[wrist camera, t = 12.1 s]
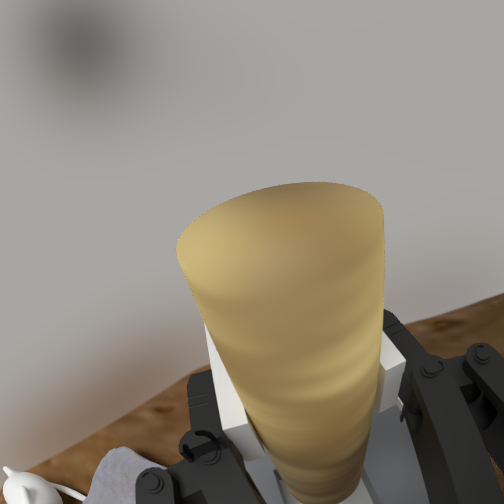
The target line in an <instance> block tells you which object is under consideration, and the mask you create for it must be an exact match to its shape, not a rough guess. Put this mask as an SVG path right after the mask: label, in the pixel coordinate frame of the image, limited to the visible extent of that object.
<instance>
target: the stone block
mask: <svg viewBox="0 0 504 504" xmlns="http://www.w3.org/2000/svg"><path fill="white" fill-rule="evenodd" d="M151 467H160V468H162V469H164V470H165V469H167V467H165V466H162V465H159V464H156V463H154V462H152V461H148V460H147V459H146V458H144V457H142V456H140V455H138V454H137V453H136V452H134V451H133V450H131V449H129V448H127V447H120V448H117V449H116V448H114V449H112V450H110V451H109V452H108V453H107V455H106V456H105V457H104V458H103V459H102V460H101V462H100V464H99V466H98V468H97V470H96V472H95V475H94V477H93V480H92V484H91V488H90V491H89V494H88V496H87V498H86V499H85V500H84V501H83V504H136V500H135V484H136V479H137V477H138V476H139V474H140V473H141V472H142V471H144V470H145V469H147V468H151Z"/></svg>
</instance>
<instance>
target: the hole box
mask: <svg viewBox="0 0 504 504" xmlns="http://www.w3.org/2000/svg"><path fill="white" fill-rule="evenodd" d="M402 408H403V403H402V401H401V400H400V398H399V397H398V400H397V404H396V405H394V406H392V407H390V408H388V409H386V410H384V411H382V412H380V413H379V412H378V411H377V409H376V407H375V406H374V411H373V418H372V424H371V430H370V435H369V441H368V446H367V451H366V456H365V461H364V465H363V470H362V474H361V478H360V482H359V484H358V486H357V488H356V490H355V491H354V492H353V493H352V494H351V495H350V496H349V497H348V498H347V499H346V500H344V501H342V502H341V503H338V504H430V503H429V499H428V495H427V491H426V487H425V483H424V480H423V476H422V473H421V469H420V466H419V462H418V459H417V455H416V452H415V449H414V446H413V442H412V439H411V436H410V433H409V430H408V427H407V424H406V421H405V418H404V419H403V422H400V415H401V411H402ZM262 444H263V443H262ZM263 447H264V445H263ZM264 450H265V454H266V457H263V458H259V459H255V460H252V461H248V462H245V460H244V459H243V460H244V464H245V468H246V470H247V471H248V473H249V474H250V476H251V478H252V480H253V481H254V483H255V485H256V486H257V488H258V490H259V492H260V493H261V495H262V497H263V498H264V500H265V502H266V503H267V504H302V503H301V502H299V501H298V500H296V499H295V498H294V497H293V496H292V495H291V493H290V491H289V490H288V488H287V486H286V485H285V483H284V481H283V479H282V478H281V476H280V474H279V472H278V470H277V469H276V467H275V465H274V463H273V461H272V460H271V458H270V456H269V454H268V452H267V450H266V449H265V447H264Z"/></svg>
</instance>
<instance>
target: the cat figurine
mask: <svg viewBox="0 0 504 504" xmlns="http://www.w3.org/2000/svg"><path fill="white" fill-rule="evenodd" d="M3 470H4V471H5V473H6V474H7V475H8V476H9V478H8V479H7V480H6V481H5V483H4V486H3V494H4V498H5V500H6V502H7V504H63V501H62V499H61V497H60V495H59V493H58V492H57V490H59V491H61V492H64V493H66V494H68V495H70V496H72V497H74V498H76V499H78V500H81V501H84V500H85V499H86V498H87V497H86V496H84V495H82V494H80V493H79V492H77V491H75V490H72V489H70V488H68V487H65V486H62V485H59V484H54V483H50V482H48V481H46V480H45V479H43V478H42V477H40V476H38V475H35V474H32V473H27V472H20V473H19V472H17V471H15V470H13V469H11V468H9V467H6V466H5V467H3ZM56 489H57V490H56Z"/></svg>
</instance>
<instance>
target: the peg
mask: <svg viewBox="0 0 504 504" xmlns="http://www.w3.org/2000/svg"><path fill="white" fill-rule="evenodd" d="M176 253H177V257H178V260H179V262H180V265H181V267H182V270H183V272H184V275H185V277H186V280H187V282H188V285H189V287H190V290H191V292H192V294H193V297H194V299H195V302H196V304H197V306H198V309H199V311H200V313H201V316H202V318H203V320H204V323H205V325H206V327H207V330H208V332H209V334H210V336H211V339H212V341H213V343H214V345H215V347H216V350H217V352H218V354H219V356H220V358H221V360H222V363H223V365H224V367H225V369H226V371H227V373H228V375H229V378H230V380H231V382H232V384H233V386H234V388H235V390H236V392H237V394H238V396H239V398H240V400H241V402H242V404H243V406H244V408H245V410H246V412H247V414H248V416H249V418H250V420H251V422H252V424H253V426H254V427H255V429H256V431H257V433H258V435H259V437H260V439H261V441H262V443H263V445H264V447H265V449H266V450H267V452H268V454H269V456H270V458H271V460H272V461H273V463H274V465H275V467H276V469H277V470H278V472H279V474H280V476H281V478H282V479H283V481H284V483H285V485H286V486H287V488H288V490H289V491H290V493H291V495H292V496H293V497H294V498H295V499H296V500H298V501H299V502H301V503H302V504H338V503H341V502H342V501H344V500H346V499H347V498H348V497H349V496H350V495H351V494H352V493H353V492H354V491H355V490H356V488H357V486H358V484H359V482H360V478H361V474H362V470H363V465H364V461H365V456H366V451H367V446H368V441H369V435H370V430H371V424H372V418H373V411H374V405H375V398H376V390H377V382H378V374H379V364H380V354H381V342H382V328H383V310H384V275H385V274H384V273H385V271H384V270H385V267H384V266H385V251H384V217H383V209H382V206H381V204H380V203H379V202H378V201H377V199H376V198H375V197H373V196H372V195H371V194H369V193H367V192H365V191H363V190H361V189H358V188H355V187H352V186H348V185H344V184H337V183H327V182H304V183H293V184H285V185H279V186H273V187H269V188H265V189H261V190H256V191H253V192H250V193H247V194H244V195H241V196H238V197H235V198H233V199H230V200H228V201H226V202H224V203H222V204H219V205H217V206H216V207H214V208H212V209H210V210H208V211H207V212H206V213H204V214H202V215H201V216H199V217H198V218H197V219H196V220H194V221H193V222H192V223H191V224H190V225H189V226H188V227H187V228H186V229H185V230H184V231H183V233H182V235H181V236H180V238H179V240H178V242H177V247H176Z"/></svg>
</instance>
